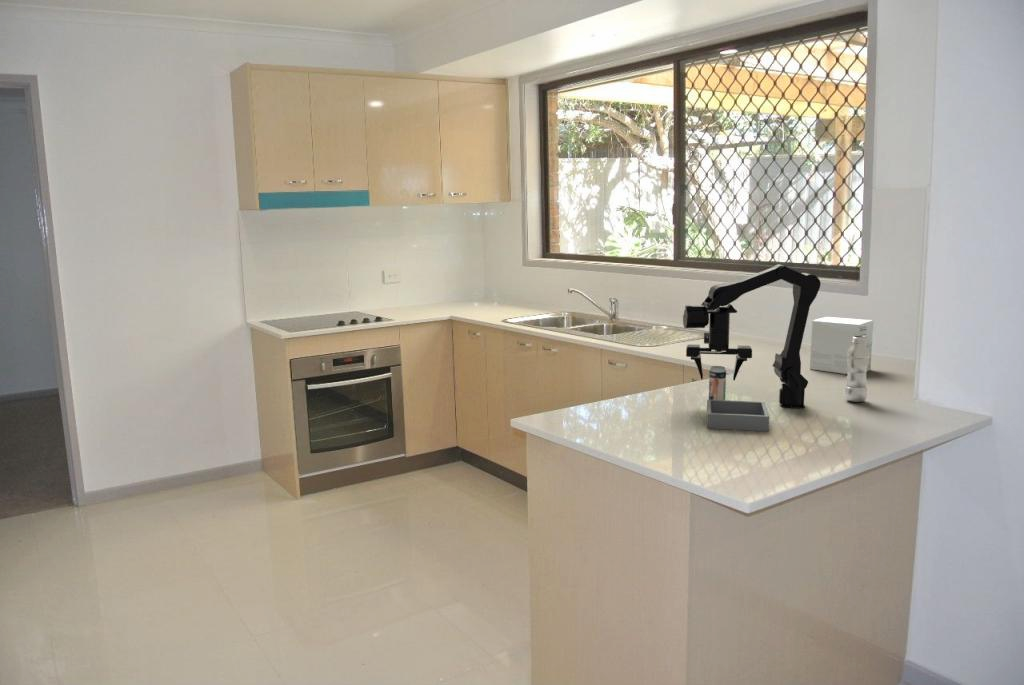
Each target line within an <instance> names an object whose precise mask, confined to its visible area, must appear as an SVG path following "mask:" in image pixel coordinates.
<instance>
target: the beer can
mask: <svg viewBox="0 0 1024 685" xmlns="http://www.w3.org/2000/svg"><path fill="white" fill-rule="evenodd" d="M708 377H709V379H708V381H709V382H708V400H726V389H727V386H726V385H727V370H726V368H725V366H722V365H713V366H710V369H709V375H708Z"/></svg>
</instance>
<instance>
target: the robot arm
mask: <svg viewBox="0 0 1024 685" xmlns="http://www.w3.org/2000/svg"><path fill="white" fill-rule="evenodd" d="M780 280H782V281H785V282H786V283H789V284H790V285H792V297H793V306H792V310H791V314H790V319H789V325H788V328H787V333H786V336H785V337H786V339H785V343H784V347H783V350H782V351H781V352H780V354H779V353H775V355H774V361H773V364H772V367H773V372H774V374H775V375H776V376H777V377H778V378H779V380H780V382H781V388H779V393H778V394H779V395H778V402H779V403H778V404H780V405H781V407H782V408H793V409H794V408H795V409H798V408H799V409H805V408H806V405H805V393H806V392H805V390H806V388H807V387H808V384H809V381H808V380H807V379H806V378H805V377H804V376H803V374H802V371H801V370H802V362H801V355H800V354H801V353H800V351H801V348H802V343H803V340H804V335H805V330H806V325H807V320H808V316H809V312H810V307H811V306H812V304H813V303H814V301H815V299H816V298H817V296H818V293H819V291H820V288H821V280H820V279H819V277H818V276H817V275H815V274H812V273H809V272H798V271H797V270H794V269H792V268H790V267H788V266H786V265H783V264H775V265H773V266H772V267H769V268H767V269H765V270H762V271H760V272H758V273H755V274H751V275H749V276H747V277H743V278H741V279H739V280H736V281H728V282H722V283H717V284H715V285H714V284H713V285H712V286H711V287H709V288H710V289H709V291H708V295H707V297H706V298H705V299H704V301H703V302H702V303H701V305H690V304H685V306H684V310H683V315H682V325H683V328H684V329H705V328H706V326H708V325H709V326H708V327H709V328H708V330H709V331H708V332H704V333H703V345H704V344H707V345H708V347H701V344H690V343H689V344H687V345H686V349H685V350H686V351H685V357H689V358H690V360H693V361H694V364H695V365H696V367H697V369H698V372H699V376H700V380H703V379H704V373H703V362H702V356H701V355H734V356H735V361H734V368H733V375H732V380H733V381H735V380H736V378H737V376H738V373H739V371H740V369H741V367H742V366H743V363H744V362H747V361H748V359H752V358H753V348H752V347H751V346H750V345H737V347H736V348H735V347H734V348H733V347H732V348H730V324H731V322H730V320H731V319H730V317H731V316H730V315H731V314H737V313H738V310H736V308H734V306H733V305H732V304H731V303H733V302H735V301H737V300H738V299H739V298H740V297H742V296H743V295H744V294H747V293H749V292H751V291H755V290H758V289H759V288H763V287H765V286H768V285H770V284H773V283H775V282H778V281H780Z"/></svg>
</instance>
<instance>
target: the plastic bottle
mask: <svg viewBox="0 0 1024 685" xmlns="http://www.w3.org/2000/svg"><path fill="white" fill-rule="evenodd" d="M852 342H853V345H852V346H851V347H850V348H849V350H848V351H847V363H848V374H847V377H846V383H845V387H844V392H843V393H844V398H845V400H847V401H848V402H853V403H860V402H865V401H866V399H867V397H868V388H867V372H868V371H867V366H868V361H869V356H870V354H869V351H868V349H867V347H866V346H865V343H866V337H865V336H853V340H852Z"/></svg>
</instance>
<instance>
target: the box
mask: <svg viewBox="0 0 1024 685" xmlns="http://www.w3.org/2000/svg"><path fill="white" fill-rule="evenodd" d="M706 428H707V429H717V430H737V431H738V430H739V431H758V432H760V431H761V432H763V431H764V432H769V431H770V415H769V411H768V408H767V405H766V402H765V401H755V400H754V401H751V400H750V401H749V400H727V399H725V400H709V399H706Z"/></svg>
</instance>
